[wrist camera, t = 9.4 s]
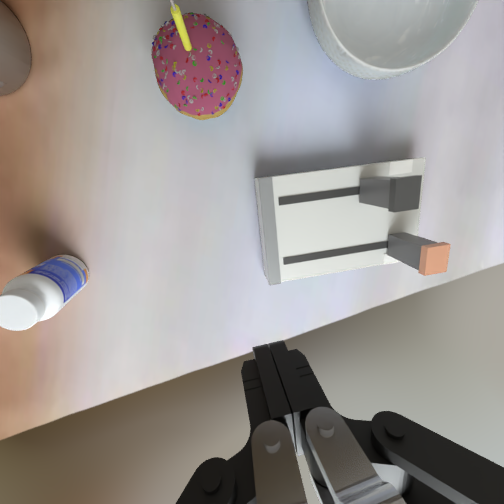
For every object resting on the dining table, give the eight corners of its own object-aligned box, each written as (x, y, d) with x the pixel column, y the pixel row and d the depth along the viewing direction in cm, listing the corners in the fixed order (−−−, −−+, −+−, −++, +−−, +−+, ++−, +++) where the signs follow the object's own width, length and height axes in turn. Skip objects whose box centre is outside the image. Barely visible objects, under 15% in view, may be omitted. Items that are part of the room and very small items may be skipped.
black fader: (358, 177, 31) (396, 178, 25) (379, 174, 32) (422, 175, 25) (357, 204, 32) (394, 212, 26) (377, 201, 33) (418, 208, 26)
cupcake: (145, 78, 28) (99, 15, 16) (199, 19, 27) (189, -91, 16) (202, 141, 31) (196, 124, 19) (252, 89, 30) (277, 39, 18)
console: (254, 178, 33) (258, 178, 30) (408, 158, 35) (428, 157, 32) (264, 275, 37) (269, 285, 34) (400, 252, 40) (417, 259, 36)
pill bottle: (55, 246, 32) (-10, 276, 23) (97, 266, 33) (53, 302, 24) (37, 280, 33) (-31, 322, 23) (80, 298, 34) (31, 345, 25)
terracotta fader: (387, 233, 34) (427, 247, 28) (405, 230, 35) (450, 244, 28) (385, 256, 35) (424, 275, 29) (403, 253, 36) (446, 271, 29)
